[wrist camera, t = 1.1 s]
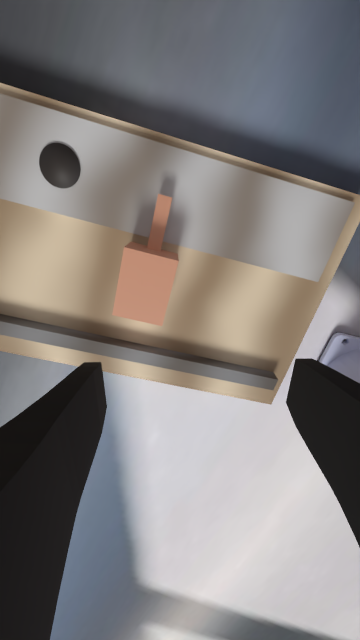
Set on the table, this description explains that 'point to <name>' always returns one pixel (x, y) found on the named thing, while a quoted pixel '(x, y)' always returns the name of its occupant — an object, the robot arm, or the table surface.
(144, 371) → the plate
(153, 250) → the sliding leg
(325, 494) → the table surface
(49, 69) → the table surface
